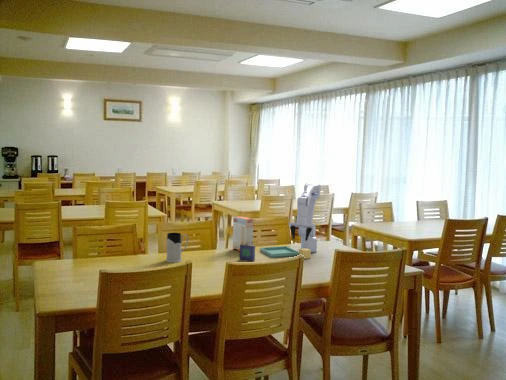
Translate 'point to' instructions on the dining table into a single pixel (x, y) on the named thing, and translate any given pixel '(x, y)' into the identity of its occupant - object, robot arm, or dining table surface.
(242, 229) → the cracker box
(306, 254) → the ochre cube
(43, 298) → the dining table surface
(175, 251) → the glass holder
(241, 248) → the blue gift bag
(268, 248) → the teal tray
